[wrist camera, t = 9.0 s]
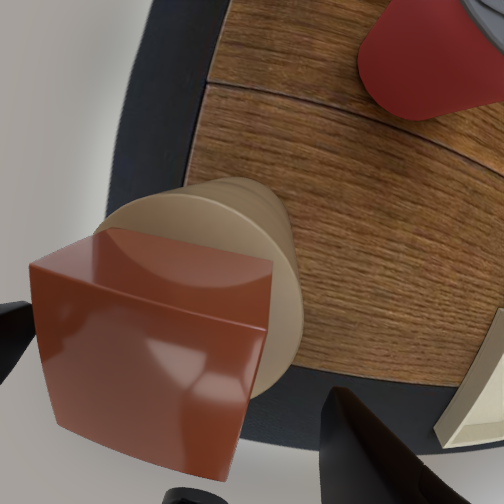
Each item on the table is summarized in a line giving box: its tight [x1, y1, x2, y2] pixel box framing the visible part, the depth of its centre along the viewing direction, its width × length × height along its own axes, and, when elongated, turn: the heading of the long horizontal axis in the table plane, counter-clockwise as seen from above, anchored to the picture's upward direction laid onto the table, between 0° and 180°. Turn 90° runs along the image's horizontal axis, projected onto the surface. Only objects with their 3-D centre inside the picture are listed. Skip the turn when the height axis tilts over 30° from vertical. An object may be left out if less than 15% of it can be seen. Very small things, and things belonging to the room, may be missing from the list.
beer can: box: [357, 0, 504, 121], centre depth 10 cm, size 7×7×12 cm
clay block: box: [29, 227, 274, 482], centre depth 7 cm, size 4×4×4 cm
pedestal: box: [93, 177, 304, 399], centre depth 14 cm, size 7×7×12 cm
